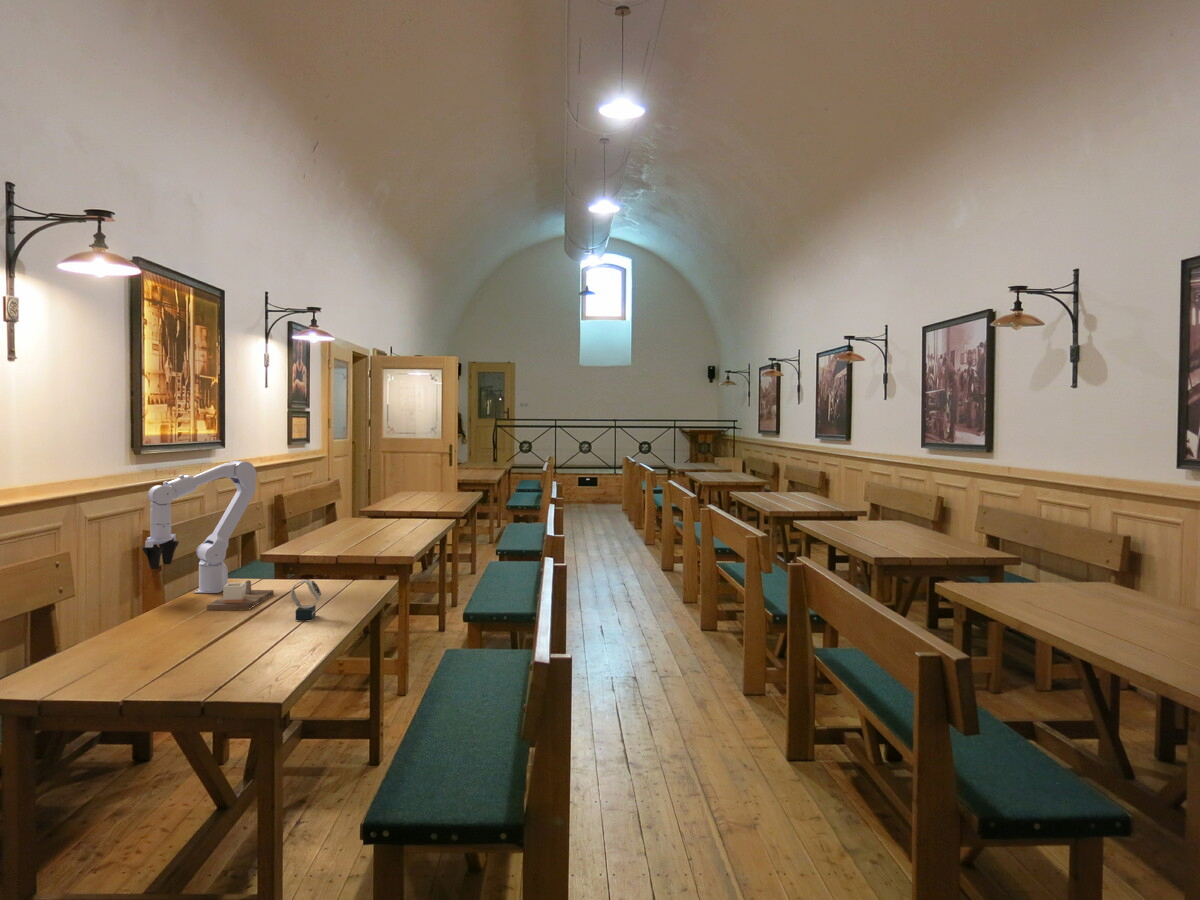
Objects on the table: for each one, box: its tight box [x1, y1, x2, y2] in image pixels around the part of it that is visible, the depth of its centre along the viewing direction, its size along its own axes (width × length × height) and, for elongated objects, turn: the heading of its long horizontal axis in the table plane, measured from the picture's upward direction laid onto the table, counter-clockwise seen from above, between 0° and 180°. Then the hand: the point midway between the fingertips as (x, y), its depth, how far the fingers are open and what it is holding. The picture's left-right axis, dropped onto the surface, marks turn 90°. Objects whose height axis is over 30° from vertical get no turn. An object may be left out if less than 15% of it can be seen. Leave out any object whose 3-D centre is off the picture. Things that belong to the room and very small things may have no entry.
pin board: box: [206, 579, 274, 611], centre depth 240 cm, size 20×12×6 cm, turn 3°
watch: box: [290, 579, 322, 622], centre depth 222 cm, size 6×8×11 cm
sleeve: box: [222, 582, 246, 603], centre depth 235 cm, size 5×5×5 cm
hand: (161, 566), depth 243 cm, fingers open, 7 cm apart
